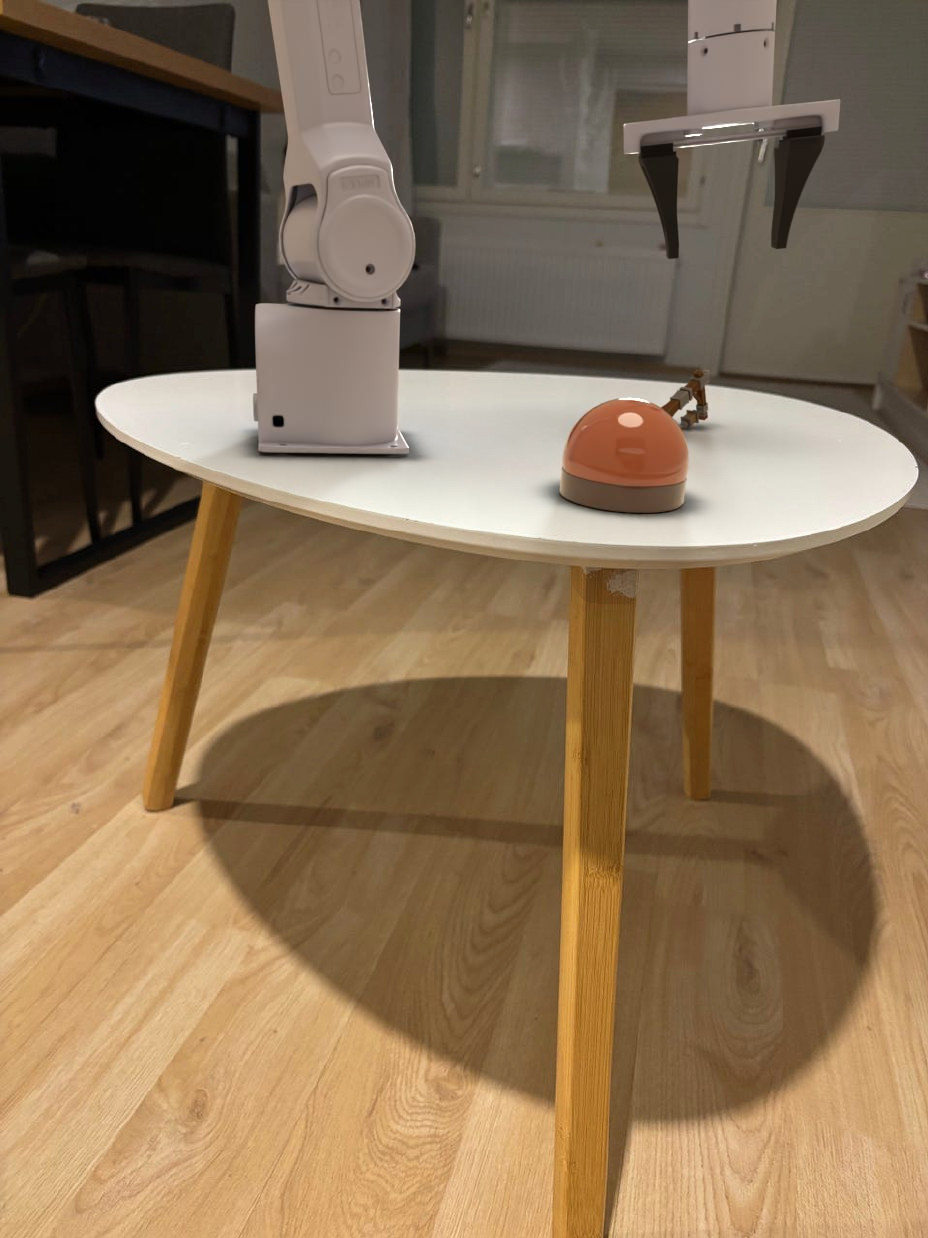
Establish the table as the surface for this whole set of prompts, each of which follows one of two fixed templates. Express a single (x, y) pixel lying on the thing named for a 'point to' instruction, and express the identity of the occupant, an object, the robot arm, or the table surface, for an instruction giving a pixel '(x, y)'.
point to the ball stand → (626, 459)
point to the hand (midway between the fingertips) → (725, 252)
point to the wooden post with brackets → (686, 394)
